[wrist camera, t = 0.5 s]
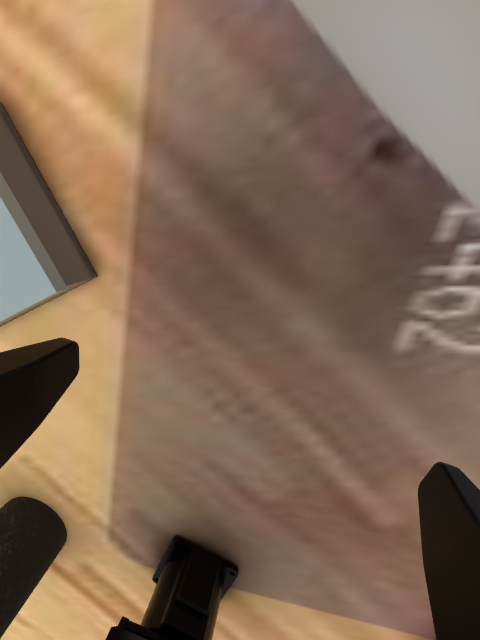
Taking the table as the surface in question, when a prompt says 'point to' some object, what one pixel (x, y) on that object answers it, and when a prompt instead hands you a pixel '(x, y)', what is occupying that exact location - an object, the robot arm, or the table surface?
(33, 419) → the robot arm
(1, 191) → the slate lid
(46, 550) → the travel mug
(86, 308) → the table surface
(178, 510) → the table surface
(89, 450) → the table surface
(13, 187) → the storage box
